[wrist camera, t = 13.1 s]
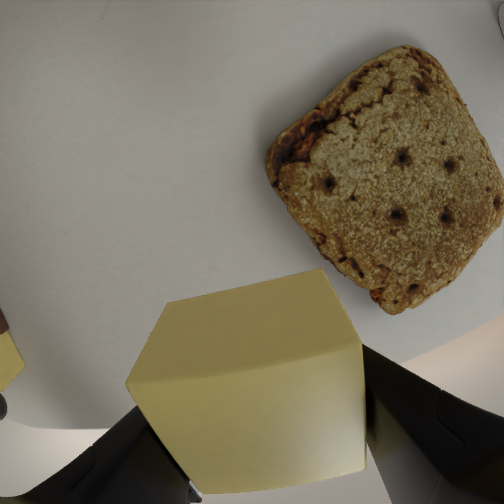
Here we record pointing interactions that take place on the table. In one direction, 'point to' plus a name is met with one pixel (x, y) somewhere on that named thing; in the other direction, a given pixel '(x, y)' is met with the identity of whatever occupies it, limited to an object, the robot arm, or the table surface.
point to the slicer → (3, 323)
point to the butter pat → (256, 386)
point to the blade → (2, 407)
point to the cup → (501, 17)
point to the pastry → (391, 178)
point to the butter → (8, 361)
